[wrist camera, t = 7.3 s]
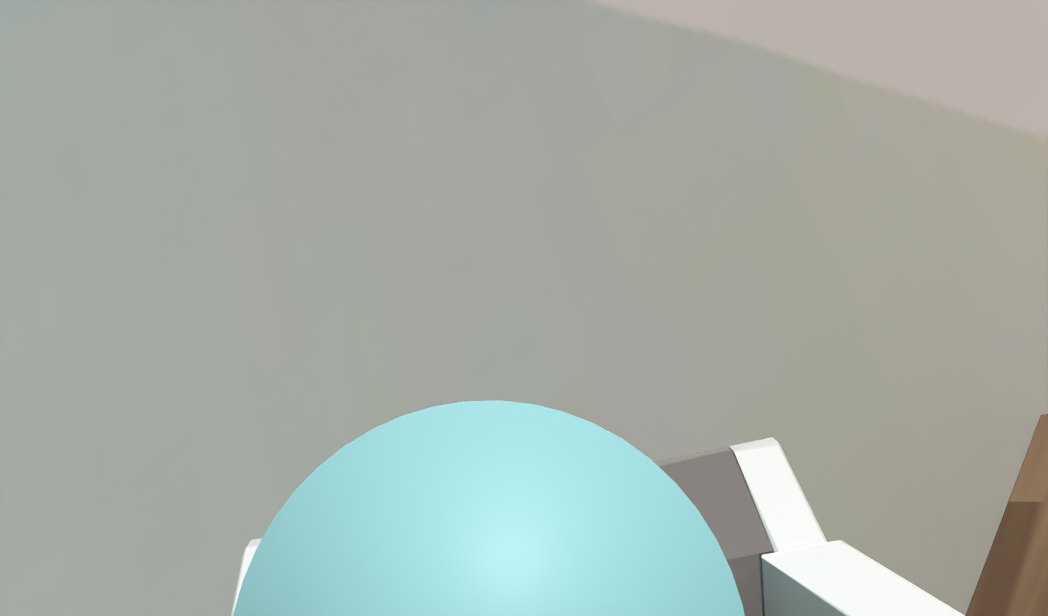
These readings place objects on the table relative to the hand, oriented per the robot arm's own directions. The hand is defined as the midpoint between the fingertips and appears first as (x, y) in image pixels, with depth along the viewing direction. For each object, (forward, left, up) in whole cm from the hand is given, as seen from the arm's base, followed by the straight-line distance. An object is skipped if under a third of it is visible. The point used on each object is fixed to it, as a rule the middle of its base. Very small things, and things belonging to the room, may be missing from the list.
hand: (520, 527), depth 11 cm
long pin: (0, -1, -7) cm, 7 cm away
